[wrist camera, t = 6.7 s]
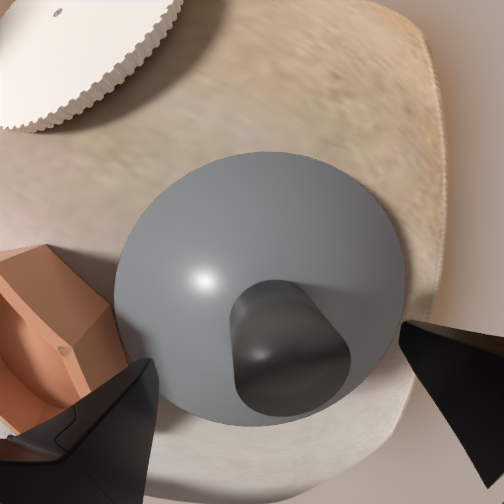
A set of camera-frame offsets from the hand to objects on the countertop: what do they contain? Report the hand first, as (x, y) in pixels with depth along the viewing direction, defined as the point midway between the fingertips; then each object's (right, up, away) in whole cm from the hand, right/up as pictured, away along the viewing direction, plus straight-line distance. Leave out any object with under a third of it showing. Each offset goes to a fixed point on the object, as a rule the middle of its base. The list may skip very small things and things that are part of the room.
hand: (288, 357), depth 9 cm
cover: (0, +1, +4) cm, 4 cm away
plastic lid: (-12, +17, +1) cm, 20 cm away
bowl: (-14, -2, +4) cm, 15 cm away
